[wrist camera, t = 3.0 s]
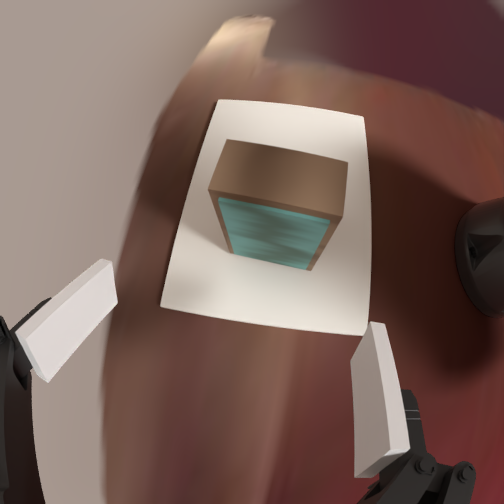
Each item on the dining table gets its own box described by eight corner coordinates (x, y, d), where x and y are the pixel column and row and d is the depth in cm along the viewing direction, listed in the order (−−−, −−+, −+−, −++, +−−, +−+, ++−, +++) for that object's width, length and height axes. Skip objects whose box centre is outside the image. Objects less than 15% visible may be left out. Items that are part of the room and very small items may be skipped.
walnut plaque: (317, 233, 28) (348, 162, 17) (310, 273, 27) (342, 220, 15) (240, 216, 29) (226, 138, 18) (229, 255, 28) (206, 192, 16)
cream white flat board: (219, 103, 36) (218, 99, 35) (362, 120, 34) (363, 116, 33) (162, 307, 27) (160, 306, 26) (363, 336, 25) (366, 335, 25)
